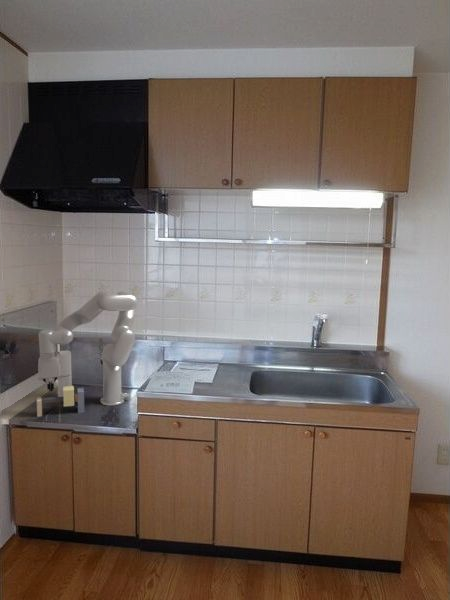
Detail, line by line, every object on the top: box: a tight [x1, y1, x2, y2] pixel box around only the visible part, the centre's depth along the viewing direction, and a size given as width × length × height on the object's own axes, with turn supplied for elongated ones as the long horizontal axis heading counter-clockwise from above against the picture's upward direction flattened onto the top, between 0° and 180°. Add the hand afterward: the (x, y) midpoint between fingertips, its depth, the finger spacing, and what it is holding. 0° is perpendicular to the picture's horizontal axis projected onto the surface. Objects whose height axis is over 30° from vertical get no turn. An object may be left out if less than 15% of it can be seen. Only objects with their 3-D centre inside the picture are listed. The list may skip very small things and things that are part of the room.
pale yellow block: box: [63, 385, 75, 407], centre depth 225 cm, size 5×6×8 cm
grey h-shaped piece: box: [36, 387, 85, 418], centre depth 224 cm, size 22×6×11 cm, turn 110°
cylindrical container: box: [57, 350, 73, 397], centre depth 244 cm, size 7×7×25 cm
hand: (50, 390), depth 221 cm, fingers closed
